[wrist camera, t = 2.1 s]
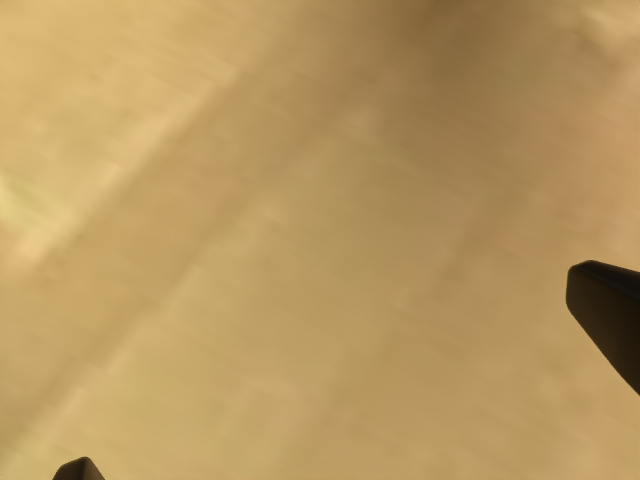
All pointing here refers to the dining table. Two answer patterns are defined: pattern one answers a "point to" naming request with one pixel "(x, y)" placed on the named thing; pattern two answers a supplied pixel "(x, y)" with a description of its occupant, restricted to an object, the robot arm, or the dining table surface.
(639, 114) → the dining table surface
